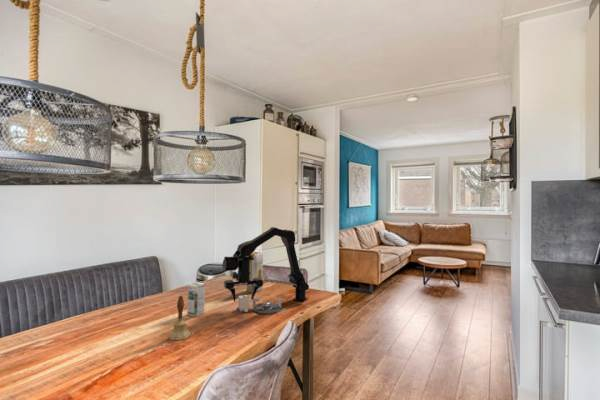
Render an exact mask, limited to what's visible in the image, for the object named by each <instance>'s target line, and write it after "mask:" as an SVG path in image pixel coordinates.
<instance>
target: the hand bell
mask: <svg viewBox="0 0 600 400" xmlns="http://www.w3.org/2000/svg"><path fill="white" fill-rule="evenodd" d="M176 306H177V307H176V308H177V312H178V313H177V314H178V315H177V321H175V322H174V323H173V328H172V329H173V330H172V332H171V333H170V334H169V336H168V339H169V340H171V341H182V340H186V339H189V338H190V337H191V335H192V333H191V332H190V331H189V329H188V328H187V327H188V326H187V322H186V320H183V319H184V318H183V311H184V307H185V299H184V297H183V295H179V296H178V299H177V303H176Z"/></svg>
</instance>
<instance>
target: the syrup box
mask: <svg viewBox="0 0 600 400" xmlns="http://www.w3.org/2000/svg"><path fill="white" fill-rule="evenodd" d="M205 291H206V283H202V282H196V281H195V282H191V283H189V284H187V310H186V312H187V313H186V314H187V316H191V317H194V318H197V317H199V316H202V315H203V314H205V300H206V299H205V295H206V293H205Z"/></svg>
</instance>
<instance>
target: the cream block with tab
mask: <svg viewBox="0 0 600 400" xmlns="http://www.w3.org/2000/svg"><path fill="white" fill-rule="evenodd" d="M237 298H238V301H237V303H238V304H237V308H239V309H240V311H242V310H244V311H245V312H244V313H247V312H248V313H249V311H248V310H249V307H250V297H249V295H247V294H245V295H238V297H237Z"/></svg>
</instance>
